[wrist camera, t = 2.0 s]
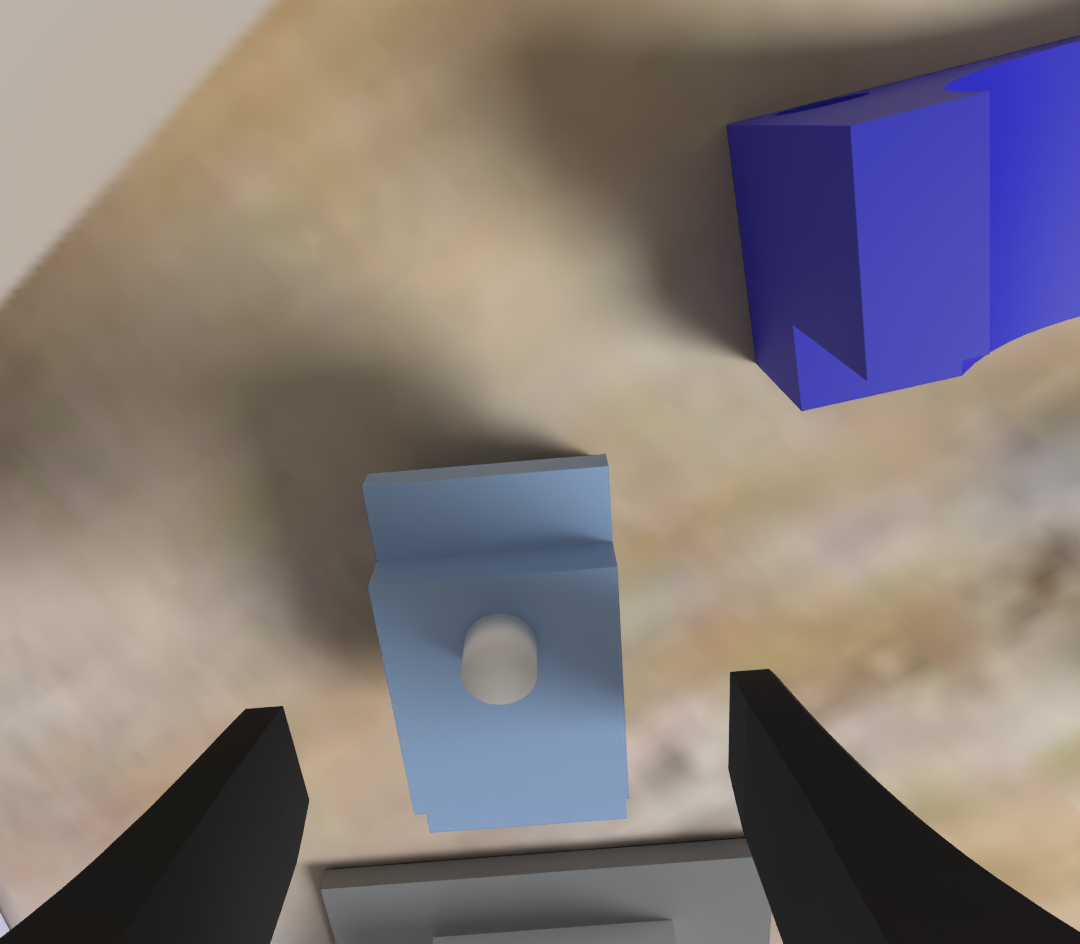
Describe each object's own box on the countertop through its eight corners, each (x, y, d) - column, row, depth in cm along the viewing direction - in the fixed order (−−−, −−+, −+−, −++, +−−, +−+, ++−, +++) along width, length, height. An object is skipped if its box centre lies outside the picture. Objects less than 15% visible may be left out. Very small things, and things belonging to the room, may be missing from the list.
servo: (446, 707, 19) (419, 904, 14) (396, 409, 16) (340, 534, 11) (609, 695, 19) (636, 889, 14) (591, 393, 16) (619, 511, 11)
